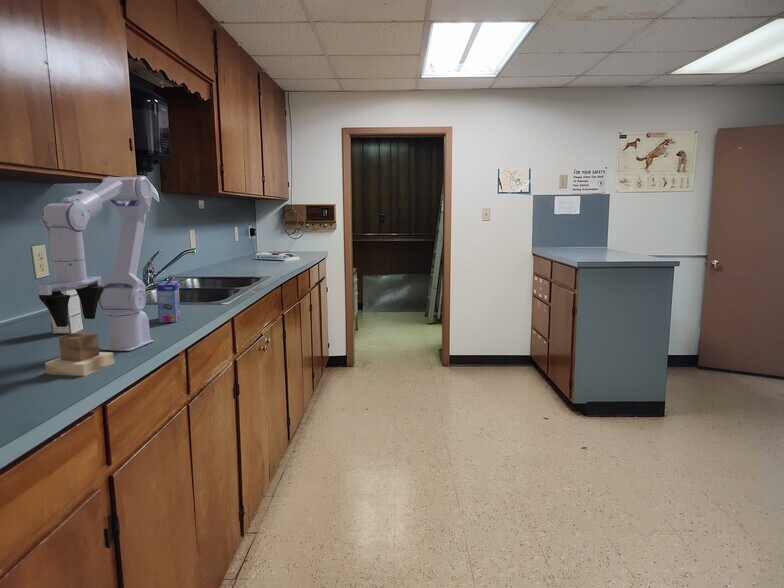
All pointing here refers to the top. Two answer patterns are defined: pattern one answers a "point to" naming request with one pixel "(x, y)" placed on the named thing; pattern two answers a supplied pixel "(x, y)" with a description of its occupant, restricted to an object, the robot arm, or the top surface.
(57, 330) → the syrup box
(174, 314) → the ink cartridge box
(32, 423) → the top surface
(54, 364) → the maple block
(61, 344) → the walnut cube
